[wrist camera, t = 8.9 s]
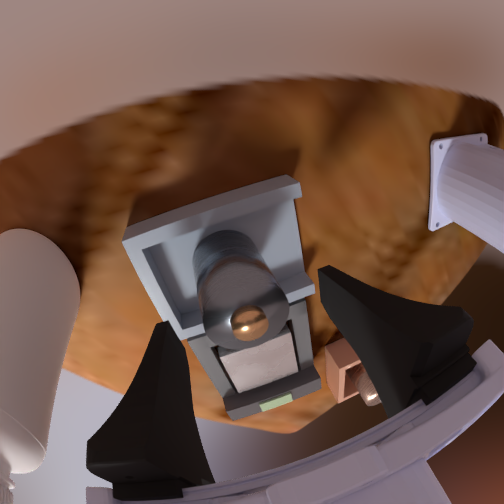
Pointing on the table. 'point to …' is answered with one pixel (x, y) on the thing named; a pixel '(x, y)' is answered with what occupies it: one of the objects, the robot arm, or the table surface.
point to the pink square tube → (340, 369)
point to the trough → (205, 223)
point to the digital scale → (270, 392)
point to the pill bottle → (31, 346)
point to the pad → (260, 362)
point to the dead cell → (363, 384)
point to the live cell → (237, 291)
